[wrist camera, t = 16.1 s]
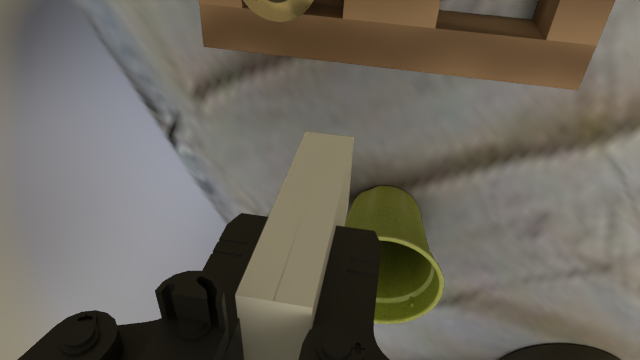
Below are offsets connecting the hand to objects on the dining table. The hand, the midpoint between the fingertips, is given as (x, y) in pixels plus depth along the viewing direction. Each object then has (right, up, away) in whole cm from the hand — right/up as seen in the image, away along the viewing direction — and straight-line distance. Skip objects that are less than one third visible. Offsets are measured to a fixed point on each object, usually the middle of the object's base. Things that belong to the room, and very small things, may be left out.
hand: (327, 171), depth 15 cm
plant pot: (+6, -3, +27) cm, 28 cm away
